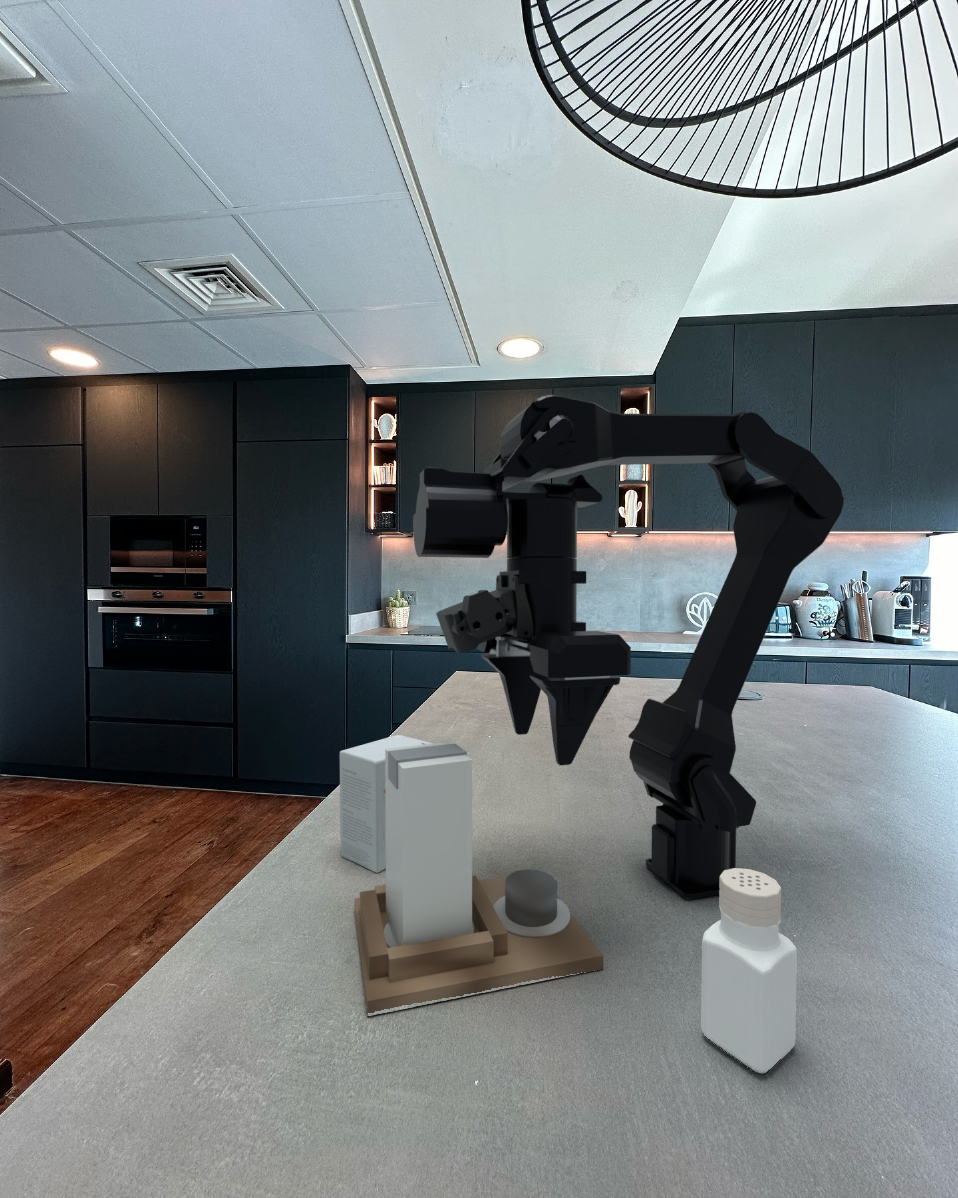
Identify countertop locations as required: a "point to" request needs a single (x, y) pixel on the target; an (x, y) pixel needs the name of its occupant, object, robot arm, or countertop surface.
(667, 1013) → the countertop surface
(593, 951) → the wooden holder board
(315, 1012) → the countertop surface
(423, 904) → the tall white box
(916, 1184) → the countertop surface
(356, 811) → the small box
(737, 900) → the salt shaker
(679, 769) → the robot arm
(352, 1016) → the countertop surface
